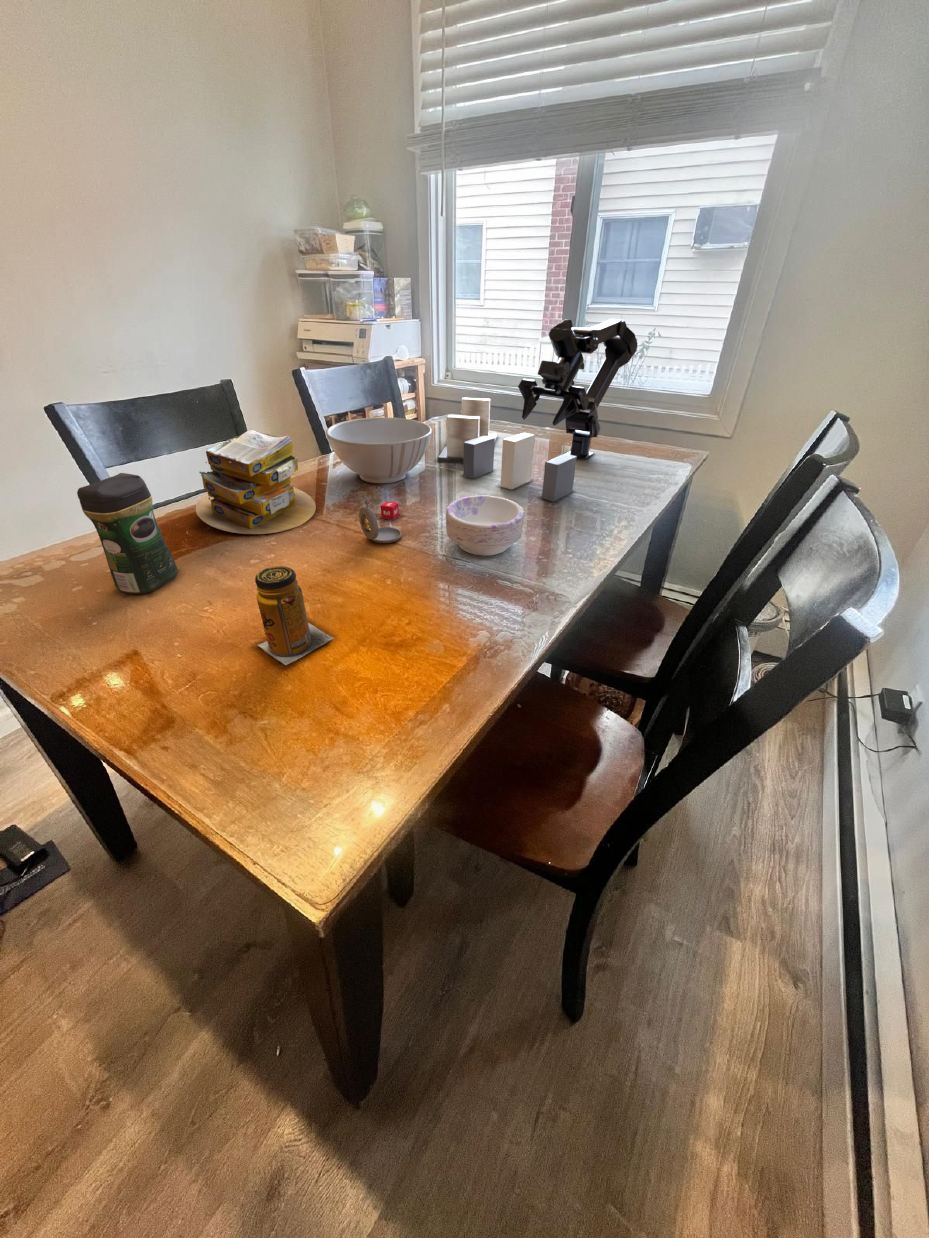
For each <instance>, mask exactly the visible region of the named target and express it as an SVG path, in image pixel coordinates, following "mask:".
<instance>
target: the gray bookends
mask: <svg viewBox="0 0 929 1238" xmlns="http://www.w3.org/2000/svg"><path fill="white" fill-rule="evenodd" d="M495 442H496V440H495V438H493V437H489V436H481V437H478V438H475V439H472V440H469V441H466V442H464V457H463V463H462V464H463V468H462V472H463V473H462V476H463V477H465V478H469V479H476V478H479V477H482V476H484V475H486V474H488V473H491V472H494V466H495V465H494V461H495V444H496V443H495ZM577 459H578V458H577V456H573V455H569V454H566V453H562V454H559V455H558V456H555V457H553V458H551V459H548V460H546V461H545V462H544V473H543V480H542V490H541V491H542V492H541V499H542V500H547V501H550V502H556V501H558V500H560V499H561V498H564V497H565V496H567V495H569V494H571V493H573V488H574V481H575V474H576V467H577Z"/></svg>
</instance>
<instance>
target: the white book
mask: <svg viewBox="0 0 929 1238" xmlns="http://www.w3.org/2000/svg"><path fill="white" fill-rule="evenodd" d="M535 439H536V434H534V433H530V432H521V433H517V434H514V435H512V436H508V437H505V438H503V439H502V449H501V451H502V452H501V454H502V455H501V468H500V487H501V488H504V489H508V490H514V489H516V488H519V487H521V486H522V485H525V484H528V483H529V482H531V481H532V473H533V462H534V450H535Z"/></svg>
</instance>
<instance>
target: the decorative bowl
mask: <svg viewBox="0 0 929 1238" xmlns="http://www.w3.org/2000/svg"><path fill="white" fill-rule="evenodd" d="M432 432H433V429H432V428H431V426H430V425H429V424H427V423H425V422H423V421H419V420H415V419H409V418H403V417H389V416H387V417H386V416H385V417H380V416H379V417H363V418H356V419H355V418H354V419H350V420H345V421H341V422H338V423H335V424H332V425H331V426H330V427H328V428H327V429H326V432H325V434H326V438H327V440H328V443H329V445H330V447H331V449H332V450H333V452H334V454H335V455H336V457H337V459H339V461H340V462H341V463H342V464H343V465H344V466H345V467H346V468H348V469H349V470H351V472H353V473H355V474H356V475H359V479H361V480H362V481H364V482H367V483H371V484H390V483H396V482H399V481H401V480H403V479H405V478H406V476H407V473H408V472H410V471H412V470H413V469H414V468H415V467H416V466H417V465H418V464H419V463H420V461H421V460H422V458H423V457H424V456H425V454H426V452H427V449H428V447H429V444H430V441H431V438H432V434H433V433H432Z"/></svg>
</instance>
